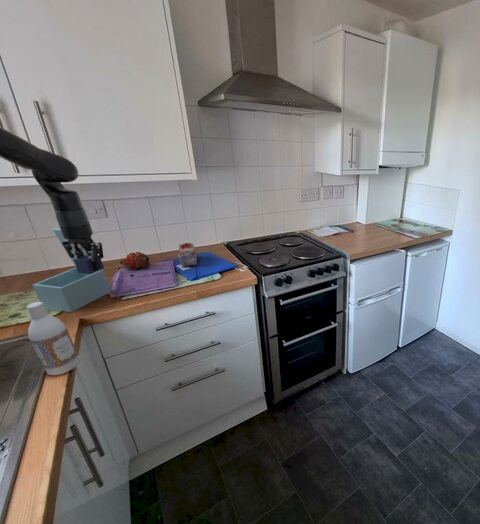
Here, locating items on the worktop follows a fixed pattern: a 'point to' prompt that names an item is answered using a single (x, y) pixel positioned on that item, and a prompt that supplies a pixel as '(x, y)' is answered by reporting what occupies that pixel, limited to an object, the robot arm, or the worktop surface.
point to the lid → (61, 239)
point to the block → (85, 265)
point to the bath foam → (51, 341)
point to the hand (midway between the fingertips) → (91, 269)
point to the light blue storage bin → (71, 290)
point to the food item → (187, 254)
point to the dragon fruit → (135, 260)
